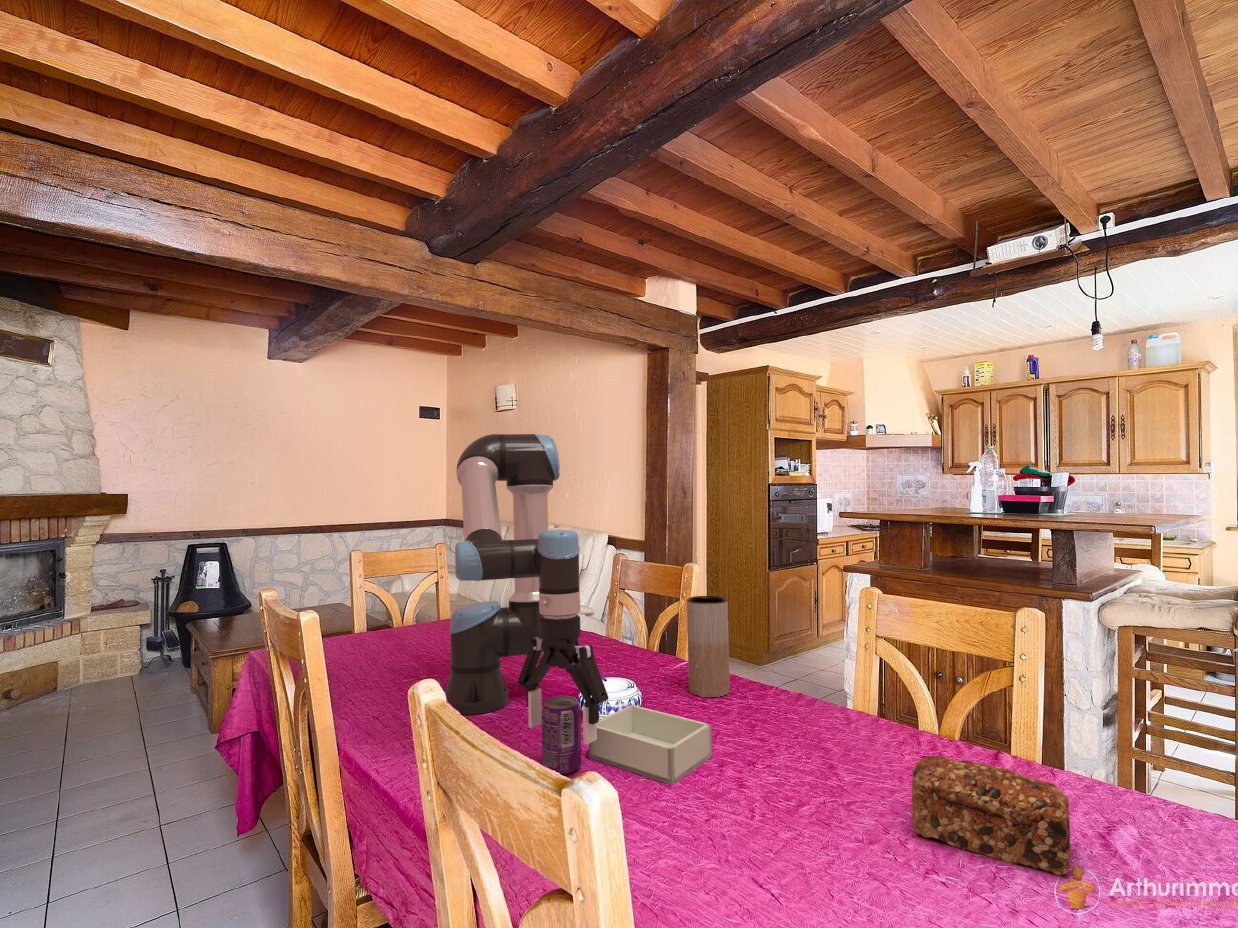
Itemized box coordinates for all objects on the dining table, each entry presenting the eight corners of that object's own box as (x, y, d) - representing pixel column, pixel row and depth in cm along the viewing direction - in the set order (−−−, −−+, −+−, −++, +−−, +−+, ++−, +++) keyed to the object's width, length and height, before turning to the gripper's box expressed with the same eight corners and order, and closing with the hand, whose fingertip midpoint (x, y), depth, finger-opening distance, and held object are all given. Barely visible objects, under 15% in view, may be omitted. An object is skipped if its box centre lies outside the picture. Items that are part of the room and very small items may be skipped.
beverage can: (587, 762, 115) (586, 696, 115) (572, 779, 108) (571, 709, 109) (552, 757, 117) (551, 693, 118) (535, 774, 110) (534, 705, 111)
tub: (589, 757, 117) (588, 725, 117) (632, 734, 127) (631, 704, 128) (672, 784, 105) (671, 749, 106) (711, 756, 116) (711, 724, 116)
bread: (911, 838, 89) (908, 767, 89) (923, 806, 97) (921, 741, 98) (1072, 884, 78) (1068, 803, 78) (1070, 843, 87) (1067, 770, 87)
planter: (711, 701, 146) (709, 604, 147) (680, 691, 153) (678, 599, 154) (738, 691, 153) (735, 598, 153) (707, 682, 160) (704, 594, 161)
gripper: (498, 611, 118) (499, 725, 117) (598, 625, 103) (601, 756, 102) (527, 605, 124) (528, 713, 123) (626, 618, 109) (629, 741, 108)
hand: (561, 733), depth 112 cm, fingers open, 13 cm apart
